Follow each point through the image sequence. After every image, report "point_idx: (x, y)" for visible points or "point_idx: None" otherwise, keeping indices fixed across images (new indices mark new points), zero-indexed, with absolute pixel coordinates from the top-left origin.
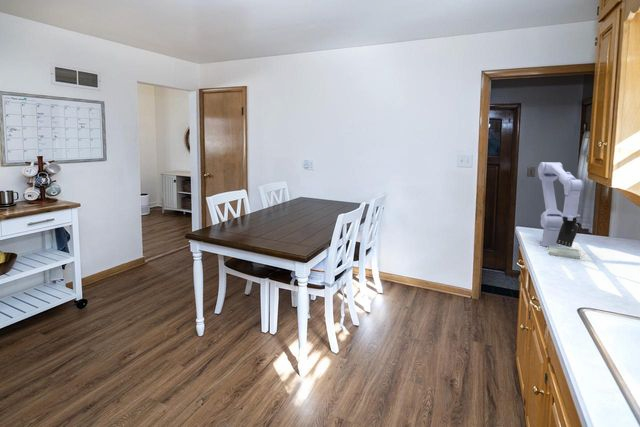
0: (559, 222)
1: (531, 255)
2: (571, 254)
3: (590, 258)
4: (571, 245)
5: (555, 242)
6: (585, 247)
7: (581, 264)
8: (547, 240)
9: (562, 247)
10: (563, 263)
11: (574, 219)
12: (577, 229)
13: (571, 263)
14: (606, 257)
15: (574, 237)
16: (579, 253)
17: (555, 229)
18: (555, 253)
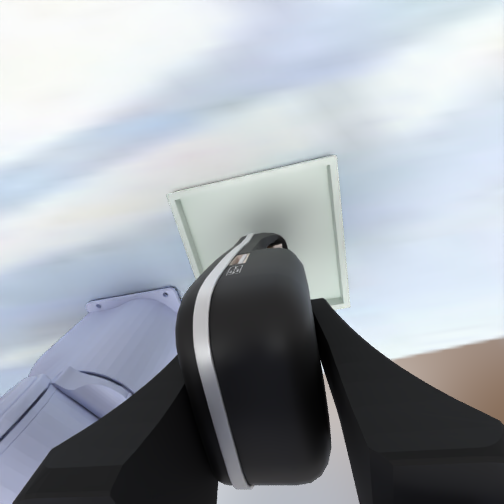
0: (47, 449)
1: (410, 348)
2: (277, 210)
3: (262, 101)
4: (275, 234)
5: (158, 318)
6: (12, 179)
7: (459, 121)
8: (175, 354)
9: (196, 273)
10: (491, 211)
11: (142, 471)
12: (291, 273)
13: (467, 175)
14: (144, 6)
15: (254, 248)
16: (268, 171)
17: (123, 396)
18: (346, 278)
